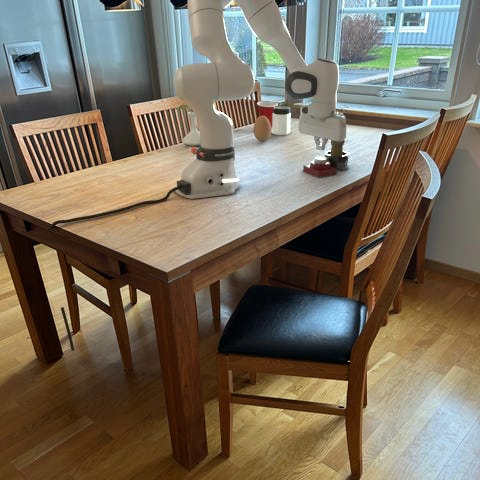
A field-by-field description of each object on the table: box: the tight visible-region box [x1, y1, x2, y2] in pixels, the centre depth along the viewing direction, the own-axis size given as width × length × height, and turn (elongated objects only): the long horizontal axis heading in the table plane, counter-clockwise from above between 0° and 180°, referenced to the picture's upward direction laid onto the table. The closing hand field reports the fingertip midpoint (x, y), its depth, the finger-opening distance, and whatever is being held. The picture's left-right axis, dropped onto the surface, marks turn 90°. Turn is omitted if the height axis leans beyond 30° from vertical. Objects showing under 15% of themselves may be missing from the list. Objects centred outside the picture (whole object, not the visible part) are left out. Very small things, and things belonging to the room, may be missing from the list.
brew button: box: [313, 156, 326, 164], centre depth 182 cm, size 4×4×2 cm
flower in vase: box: [176, 94, 201, 147], centre depth 217 cm, size 13×11×25 cm
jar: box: [271, 105, 292, 136], centre depth 238 cm, size 9×8×12 cm
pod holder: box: [324, 150, 350, 172], centre depth 188 cm, size 9×9×6 cm
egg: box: [252, 115, 272, 142], centre depth 225 cm, size 8×8×11 cm
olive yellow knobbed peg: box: [330, 139, 345, 156], centre depth 186 cm, size 6×6×11 cm
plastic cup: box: [256, 100, 279, 129], centre depth 251 cm, size 11×11×12 cm
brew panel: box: [302, 159, 337, 178], centre depth 183 cm, size 8×10×4 cm
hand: (320, 149), depth 180 cm, fingers closed
